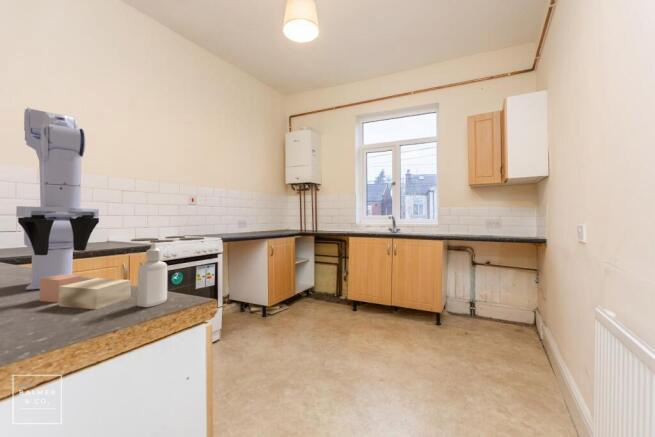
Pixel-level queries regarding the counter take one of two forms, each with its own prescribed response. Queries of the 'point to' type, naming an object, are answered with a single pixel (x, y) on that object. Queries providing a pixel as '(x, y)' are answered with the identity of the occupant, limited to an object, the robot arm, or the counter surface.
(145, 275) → the eye dropper bottle
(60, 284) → the terracotta cube
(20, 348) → the counter surface
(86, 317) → the counter surface
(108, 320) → the counter surface
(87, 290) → the birch block
